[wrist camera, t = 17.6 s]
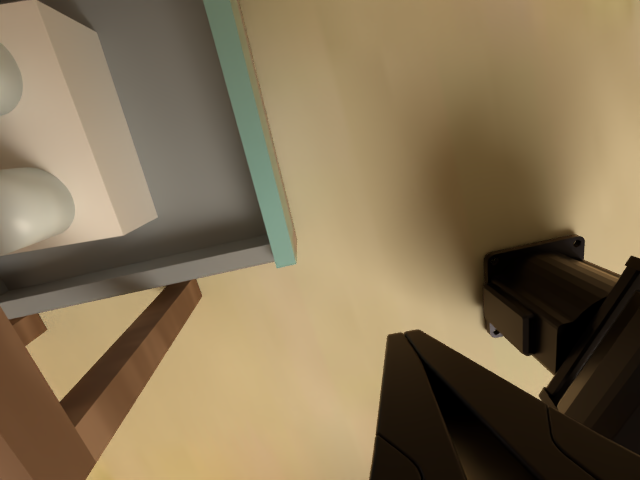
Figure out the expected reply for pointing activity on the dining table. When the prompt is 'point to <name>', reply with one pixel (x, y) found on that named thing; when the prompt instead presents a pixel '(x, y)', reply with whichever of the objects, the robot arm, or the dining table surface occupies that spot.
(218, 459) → the dining table surface
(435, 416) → the robot arm
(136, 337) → the wooden stand
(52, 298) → the drawer
